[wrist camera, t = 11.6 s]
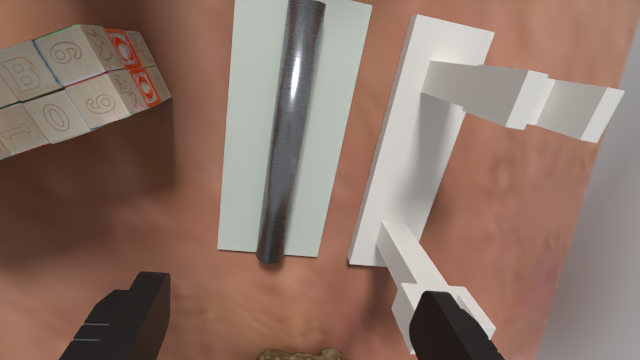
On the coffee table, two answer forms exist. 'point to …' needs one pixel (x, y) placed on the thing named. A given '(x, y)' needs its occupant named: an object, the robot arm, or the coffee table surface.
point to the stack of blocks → (73, 85)
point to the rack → (450, 146)
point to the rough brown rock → (302, 355)
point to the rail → (289, 123)
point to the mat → (257, 117)
